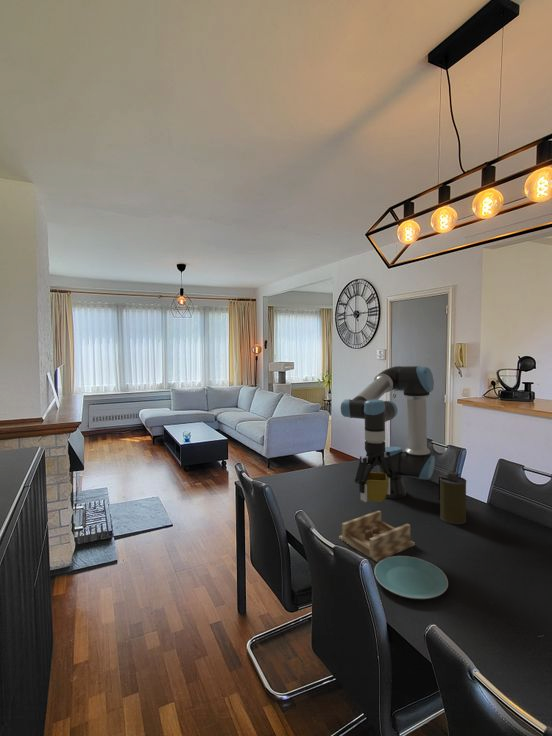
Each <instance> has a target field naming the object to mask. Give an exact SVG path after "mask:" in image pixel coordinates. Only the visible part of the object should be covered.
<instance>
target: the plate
mask: <svg viewBox="0 0 552 736" xmlns="http://www.w3.org/2000/svg"><path fill="white" fill-rule="evenodd" d="M373 570H374V572H373V573H374V577H375V579H376V581H377V582H378V584H380V586H382V587H383V588H384V589H385V590H387V591H389V592H390V593H392V594H393V595H394V594H395V595H397V596H399V597H403V598H407V599H411V600H413V599H414V600H427V599H428V600H429V599H433V598H437V597H439V596H441V595H443V594H444V593H445V592H446V591H447V589H448V587H449V581H448V577H447V575H446V574H445V572H444V571H443V570H442V569H440V568H439V567H438V566H436V565H435V564H433V563H431V562H429V561H426V560H424V559H422V558H418V557H415V556H409V555H392V556H390V557H387V558H385V559H383V560H381V561H378V563H376V565H375V566H374V569H373Z"/></svg>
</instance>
